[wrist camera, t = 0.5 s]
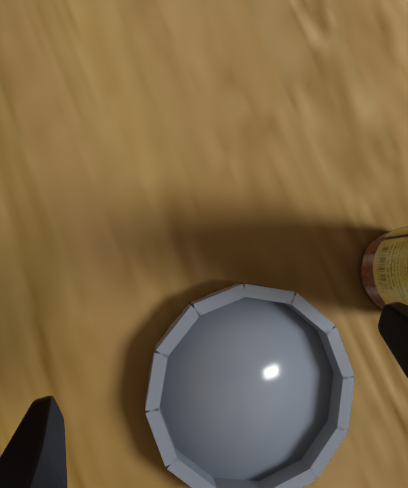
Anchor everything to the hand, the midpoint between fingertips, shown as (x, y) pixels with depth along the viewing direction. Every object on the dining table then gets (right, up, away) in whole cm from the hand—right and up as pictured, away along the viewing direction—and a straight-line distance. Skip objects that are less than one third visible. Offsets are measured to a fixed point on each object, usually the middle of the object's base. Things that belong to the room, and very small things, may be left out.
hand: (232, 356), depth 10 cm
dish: (+2, -6, +15) cm, 16 cm away
